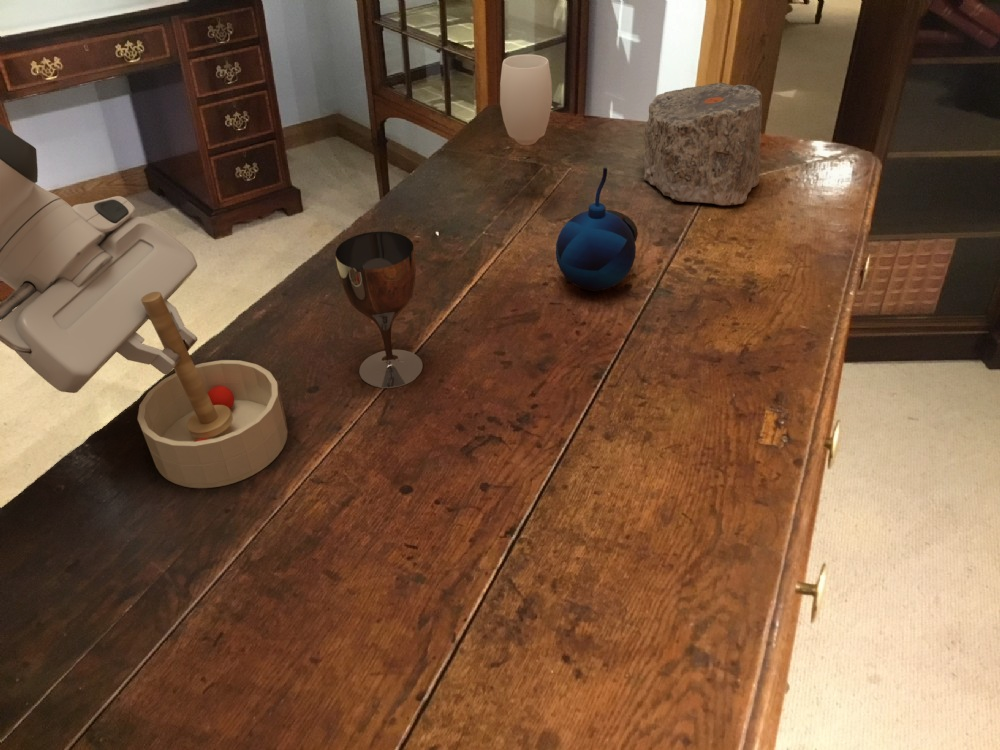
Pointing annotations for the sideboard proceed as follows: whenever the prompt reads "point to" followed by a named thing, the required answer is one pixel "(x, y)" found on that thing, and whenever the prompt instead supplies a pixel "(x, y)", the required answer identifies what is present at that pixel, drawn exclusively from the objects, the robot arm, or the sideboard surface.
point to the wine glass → (381, 298)
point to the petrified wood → (705, 143)
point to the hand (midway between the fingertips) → (183, 356)
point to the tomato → (221, 396)
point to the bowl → (225, 454)
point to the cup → (526, 97)
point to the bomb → (597, 246)
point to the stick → (187, 373)
